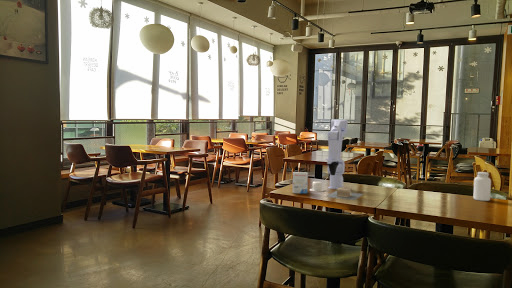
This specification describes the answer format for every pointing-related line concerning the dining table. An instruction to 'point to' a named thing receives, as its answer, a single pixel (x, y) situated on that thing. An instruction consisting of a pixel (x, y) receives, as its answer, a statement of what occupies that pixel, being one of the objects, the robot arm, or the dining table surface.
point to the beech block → (344, 192)
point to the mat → (352, 197)
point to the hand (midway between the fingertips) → (332, 175)
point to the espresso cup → (317, 186)
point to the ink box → (300, 182)
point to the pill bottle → (482, 187)
